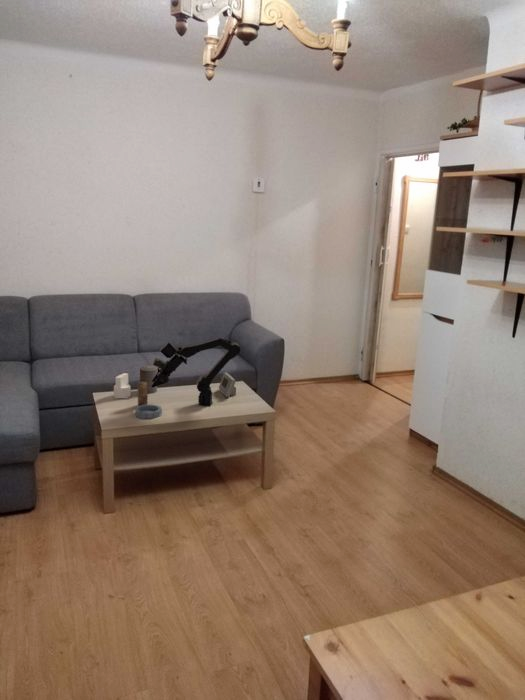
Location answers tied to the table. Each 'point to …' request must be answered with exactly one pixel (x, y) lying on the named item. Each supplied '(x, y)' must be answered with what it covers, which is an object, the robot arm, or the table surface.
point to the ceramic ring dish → (148, 411)
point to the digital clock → (227, 385)
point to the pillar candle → (148, 377)
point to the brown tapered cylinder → (142, 394)
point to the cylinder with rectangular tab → (122, 387)
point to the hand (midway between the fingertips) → (152, 384)
